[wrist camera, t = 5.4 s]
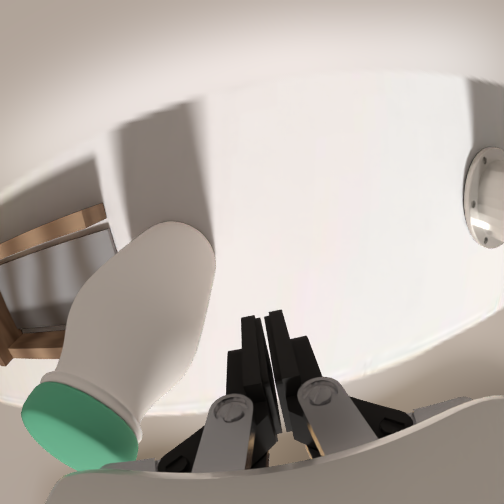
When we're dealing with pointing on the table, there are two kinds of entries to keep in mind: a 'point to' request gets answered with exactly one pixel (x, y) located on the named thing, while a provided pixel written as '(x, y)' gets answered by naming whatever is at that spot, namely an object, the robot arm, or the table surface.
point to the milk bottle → (124, 347)
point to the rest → (47, 283)
